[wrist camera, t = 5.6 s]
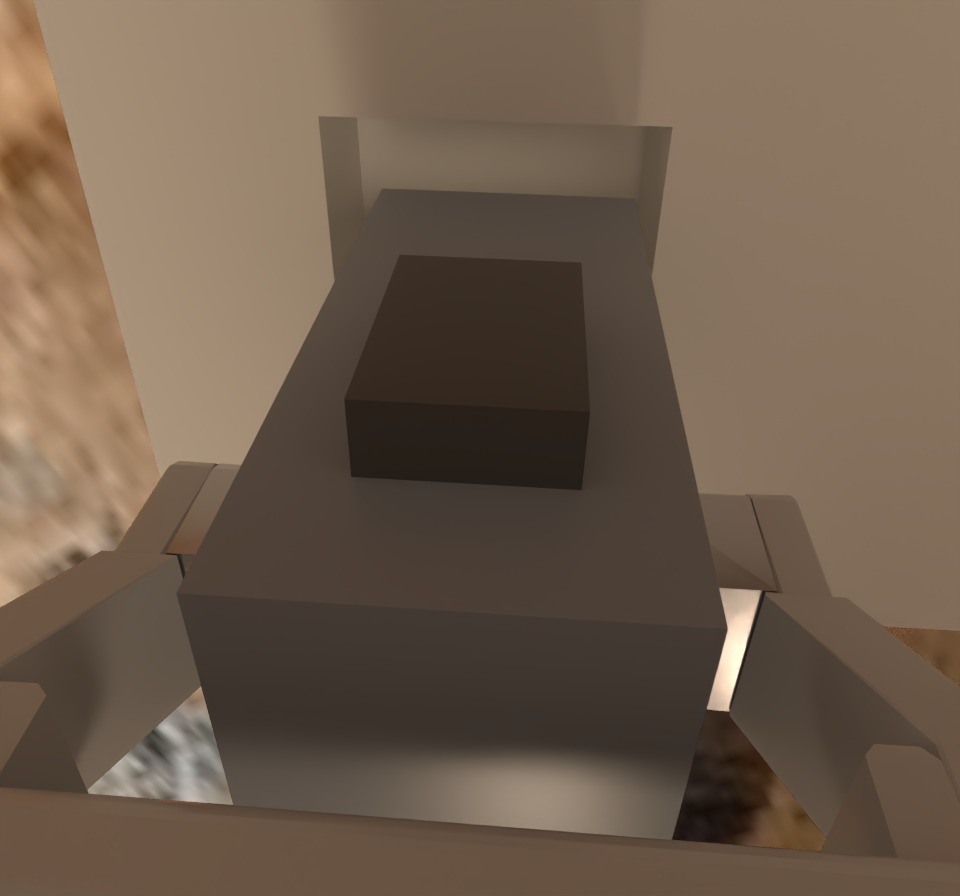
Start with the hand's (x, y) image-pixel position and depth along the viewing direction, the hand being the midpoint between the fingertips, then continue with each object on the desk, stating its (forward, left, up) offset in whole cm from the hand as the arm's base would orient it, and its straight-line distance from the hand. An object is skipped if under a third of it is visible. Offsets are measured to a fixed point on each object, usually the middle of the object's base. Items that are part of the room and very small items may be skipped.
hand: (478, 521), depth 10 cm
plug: (0, 0, -6) cm, 6 cm away
